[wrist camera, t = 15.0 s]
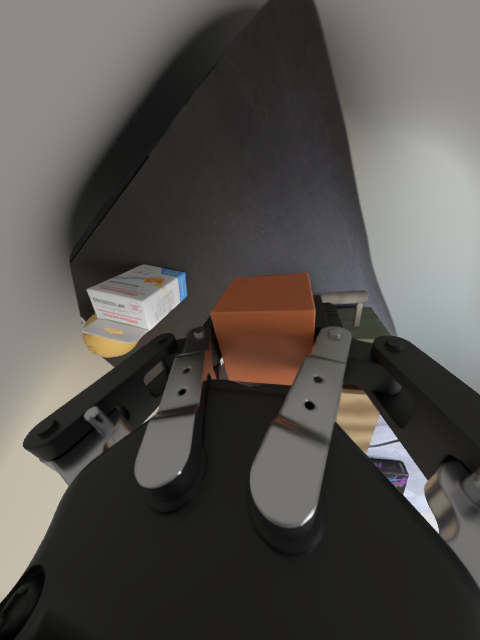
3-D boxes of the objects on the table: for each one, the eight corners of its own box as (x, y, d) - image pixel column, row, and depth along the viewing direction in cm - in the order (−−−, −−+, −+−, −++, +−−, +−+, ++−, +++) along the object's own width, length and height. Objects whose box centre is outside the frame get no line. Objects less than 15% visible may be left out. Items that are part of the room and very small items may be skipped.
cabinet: (290, 348, 37) (289, 389, 29) (364, 349, 33) (386, 396, 25) (292, 398, 45) (293, 441, 37) (352, 404, 41) (366, 452, 33)
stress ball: (129, 294, 39) (86, 320, 31) (158, 331, 43) (126, 363, 35) (101, 308, 43) (56, 334, 35) (130, 341, 47) (96, 371, 39)
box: (395, 490, 57) (404, 460, 48) (400, 506, 55) (411, 477, 45) (343, 483, 62) (343, 455, 52) (346, 497, 59) (346, 470, 50)
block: (308, 271, 11) (315, 310, 7) (306, 334, 13) (311, 387, 10) (234, 277, 12) (208, 313, 9) (244, 334, 15) (228, 380, 11)
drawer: (290, 282, 29) (290, 306, 22) (377, 274, 26) (405, 300, 19) (294, 371, 39) (294, 406, 32) (357, 374, 35) (371, 413, 29)
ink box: (186, 270, 33) (125, 313, 21) (188, 296, 36) (135, 346, 24) (142, 263, 34) (60, 299, 22) (147, 288, 37) (77, 332, 25)
